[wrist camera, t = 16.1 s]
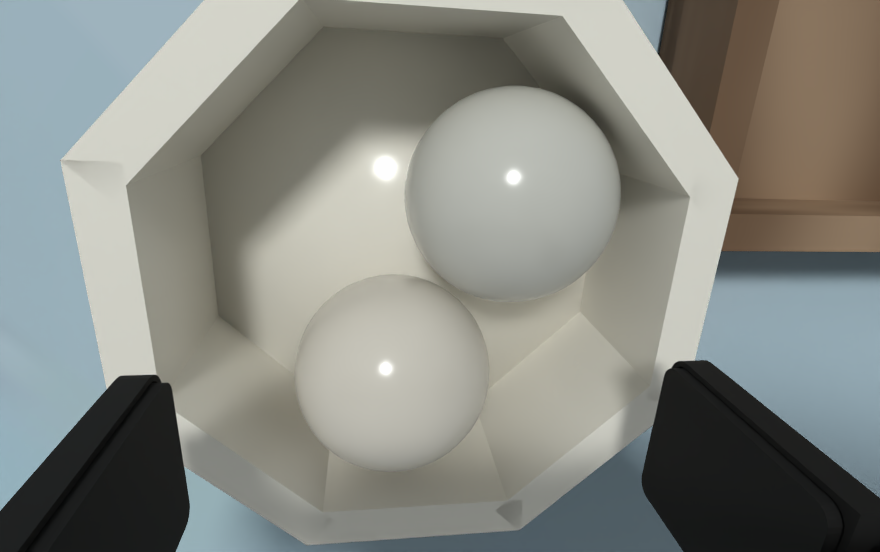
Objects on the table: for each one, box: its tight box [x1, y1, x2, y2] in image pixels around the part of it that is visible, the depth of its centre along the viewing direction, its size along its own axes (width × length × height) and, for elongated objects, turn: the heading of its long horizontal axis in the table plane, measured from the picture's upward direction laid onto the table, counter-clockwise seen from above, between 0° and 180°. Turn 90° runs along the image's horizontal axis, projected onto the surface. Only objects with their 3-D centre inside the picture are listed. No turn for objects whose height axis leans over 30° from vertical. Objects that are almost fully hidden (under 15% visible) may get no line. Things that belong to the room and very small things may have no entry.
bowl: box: [60, 0, 739, 545], centre depth 13 cm, size 13×13×5 cm
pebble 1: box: [294, 274, 490, 472], centre depth 13 cm, size 5×5×5 cm
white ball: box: [404, 86, 621, 303], centre depth 12 cm, size 5×5×5 cm
